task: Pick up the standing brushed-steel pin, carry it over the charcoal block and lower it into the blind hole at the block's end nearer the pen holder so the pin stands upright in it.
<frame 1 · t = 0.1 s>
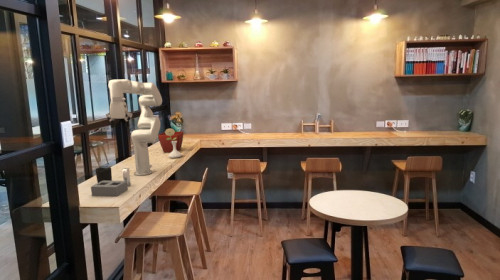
hand: (120, 127, 212), 37 cm above the table, tool pointing down, fingers open, 9 cm apart
plant pot: (172, 151, 315), on the table
steel pin: (127, 185, 215), on the table
flower in vase: (174, 157, 289), on the table
hole block: (110, 192, 203), on the table
pen holder: (105, 183, 222), on the table
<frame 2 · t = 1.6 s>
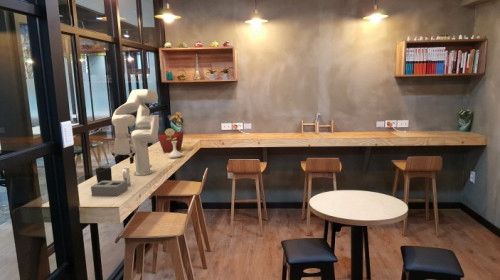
hand: (124, 163, 211), 15 cm above the table, tool pointing down, fingers open, 9 cm apart
nothing on the table moved.
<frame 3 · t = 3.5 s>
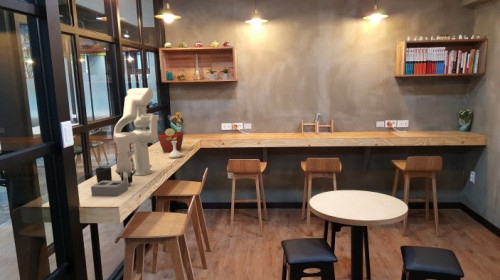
hand: (127, 182, 214), 2 cm above the table, tool pointing down, fingers closed on steel pin, 4 cm apart
steel pin: (127, 185, 215), on the table, touching gripper
everything else where it was.
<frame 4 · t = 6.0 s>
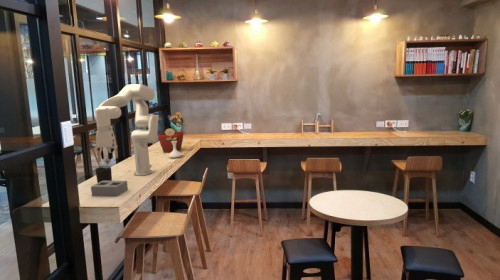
hand: (107, 158, 203), 20 cm above the table, tool pointing down, fingers closed on steel pin, 4 cm apart
steel pin: (107, 162, 203), point 18 cm above the table, touching gripper
everything else where it was.
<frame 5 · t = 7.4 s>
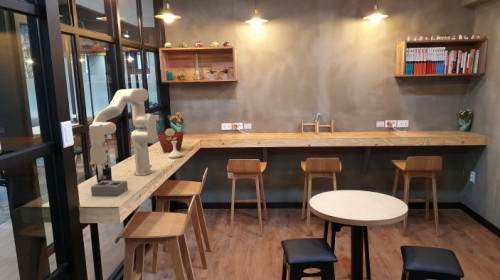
hand: (101, 174, 201), 11 cm above the table, tool pointing down, fingers closed on steel pin, 4 cm apart
steel pin: (102, 178, 202), point 9 cm above the table, touching gripper
everything else where it was.
when the fingers open (6 cm above the table, at t = 8.7 s): steel pin drops 2 cm, resting on hole block.
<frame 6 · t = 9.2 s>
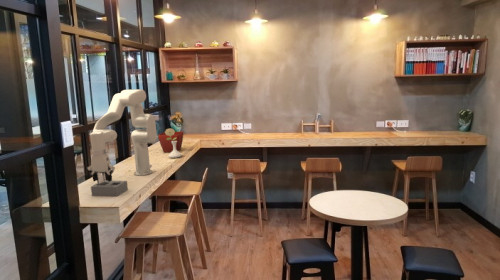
hand: (102, 180, 202), 7 cm above the table, tool pointing down, fingers open, 9 cm apart
steel pin: (103, 189, 203), point 2 cm above the table, touching hole block
everything else where it was.
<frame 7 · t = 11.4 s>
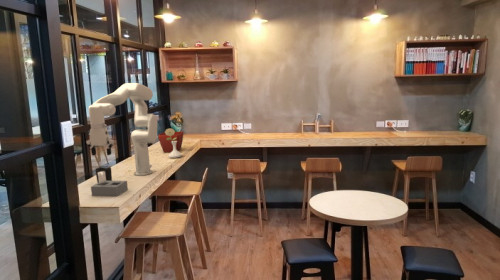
hand: (101, 154, 201), 23 cm above the table, tool pointing down, fingers open, 9 cm apart
nothing on the table moved.
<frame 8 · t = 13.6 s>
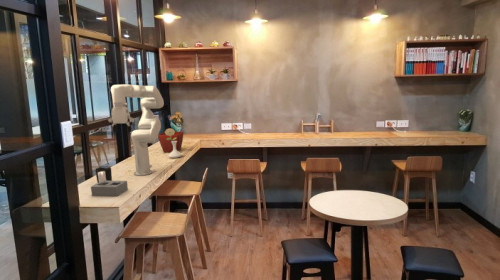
hand: (122, 132, 215), 33 cm above the table, tool pointing down, fingers open, 9 cm apart
nothing on the table moved.
at the end: steel pin 0.1 cm from the target spot on the hole block, point 1.6 cm above the hole block's base; steel pin tilted 2°; the gripper is holding nothing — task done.
